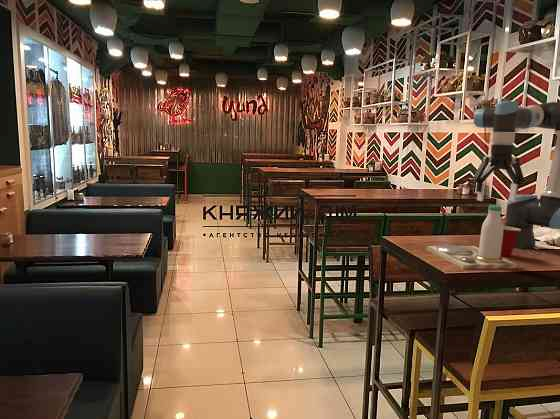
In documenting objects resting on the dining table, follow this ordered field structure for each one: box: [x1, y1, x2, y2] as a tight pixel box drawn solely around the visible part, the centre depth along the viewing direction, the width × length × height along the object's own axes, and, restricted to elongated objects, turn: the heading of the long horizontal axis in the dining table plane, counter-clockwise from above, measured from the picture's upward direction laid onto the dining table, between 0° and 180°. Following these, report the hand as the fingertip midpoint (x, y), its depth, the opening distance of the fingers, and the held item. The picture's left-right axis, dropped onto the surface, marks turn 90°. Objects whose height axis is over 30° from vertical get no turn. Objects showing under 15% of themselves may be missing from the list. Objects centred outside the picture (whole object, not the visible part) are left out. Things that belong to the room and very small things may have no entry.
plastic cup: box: [500, 225, 521, 257], centre depth 196 cm, size 11×11×12 cm
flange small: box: [461, 257, 475, 263], centre depth 179 cm, size 5×5×1 cm
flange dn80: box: [475, 254, 504, 263], centre depth 182 cm, size 10×10×1 cm
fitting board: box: [425, 245, 518, 270], centre depth 189 cm, size 22×28×2 cm
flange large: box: [435, 244, 473, 255], centre depth 194 cm, size 14×14×1 cm
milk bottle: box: [478, 205, 504, 259], centre depth 181 cm, size 8×8×20 cm
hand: (496, 200), depth 179 cm, fingers open, 13 cm apart
